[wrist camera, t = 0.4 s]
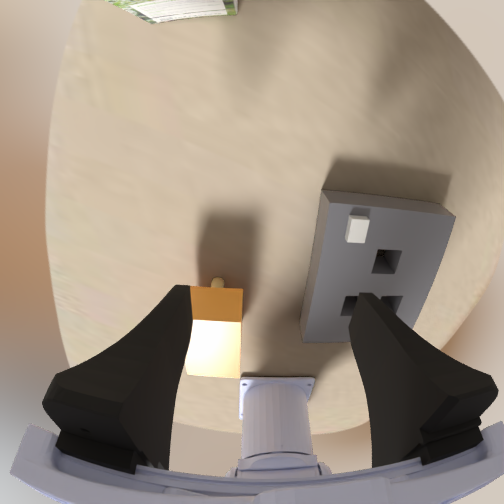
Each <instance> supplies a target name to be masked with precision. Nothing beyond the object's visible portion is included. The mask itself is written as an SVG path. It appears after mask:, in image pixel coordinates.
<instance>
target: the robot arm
mask: <svg viewBox="0 0 504 504" xmlns="http://www.w3.org/2000/svg"><path fill="white" fill-rule="evenodd" d="M192 327H193V315H192V304H191V292H190V286H188V285H175V286H174V287H173V288H172V289H171V290H170V291H169V292H168V294H167V295H166V296H165V297H164V298H163V299H162V300H161V301H160V303H159V304H158V305H157V306H156V307H155V308H154V309H153V310H152V311H151V312H150V313H149V314H148V315H147V316H146V317H145V318H144V319H143V320H142V321H141V322H140V323H139V324H138V325H137V326H136V327H135V328H134V329H132V330H131V331H130V332H129V333H128V334H127V335H125V336H124V337H123V338H121V339H120V340H119V341H118V342H116V343H115V344H113V345H112V346H110V347H109V348H107V349H106V350H104V351H103V352H101V353H99V354H98V355H96V356H94V357H92V358H91V359H89V360H87V361H85V362H83V363H81V364H79V365H77V366H74V367H72V368H70V369H67V370H65V371H63V372H60V373H57V374H56V375H55V377H54V379H53V380H52V382H51V384H50V386H49V388H48V390H47V393H46V395H45V397H44V399H43V401H42V405H43V408H44V410H45V411H46V413H47V414H48V415H49V416H50V418H51V419H52V420H53V421H54V422H55V423H56V425H57V426H58V427H59V428H60V429H61V432H60V434H59V436H57V435H56V434H54V433H53V432H51V431H48V430H46V429H43V428H41V427H39V426H36V425H34V424H32V423H29V424H28V427H27V429H26V431H25V434H24V436H23V439H22V441H21V444H20V446H19V449H18V451H17V454H16V457H15V459H14V462H13V465H12V467H11V470H10V474H11V475H12V476H14V477H15V478H17V479H18V480H20V481H22V482H23V483H25V484H26V485H28V486H29V487H31V488H33V489H34V490H36V491H38V492H39V493H41V494H43V495H45V496H47V497H49V498H51V499H53V500H55V501H57V502H60V503H62V504H450V503H452V502H454V501H457V500H459V499H461V498H463V497H465V496H467V495H469V494H471V493H473V492H475V491H477V490H479V489H481V488H482V487H484V486H486V485H488V484H489V483H491V482H492V481H494V480H495V479H497V478H498V477H500V476H501V475H503V474H504V424H503V422H502V421H500V422H498V423H495V424H493V425H491V426H488V427H486V428H485V429H483V430H482V431H480V429H479V427H478V426H479V425H481V419H480V416H481V414H483V412H484V411H485V410H486V409H487V408H488V407H489V406H490V405H491V404H492V402H494V400H495V399H496V397H497V395H498V388H497V386H496V384H495V382H494V381H493V379H492V377H491V375H488V374H486V373H483V372H481V371H478V370H475V369H473V368H471V367H468V366H467V365H465V364H462V363H460V362H458V361H457V360H455V359H453V358H451V357H450V356H448V355H446V354H445V353H443V352H441V351H440V350H438V349H437V348H435V347H434V346H433V345H431V344H430V343H429V342H427V341H426V340H424V339H423V338H422V337H421V336H419V335H418V334H417V333H416V332H415V331H413V330H412V329H411V328H410V327H409V326H408V325H407V324H405V323H404V322H403V321H402V320H401V319H400V318H399V317H398V316H397V315H396V314H395V313H394V312H393V311H392V310H390V309H389V308H388V307H387V306H386V305H385V304H384V303H383V302H382V301H381V300H380V299H379V298H378V297H377V296H376V295H374V294H373V293H366V292H359V296H358V299H357V302H356V305H355V308H354V311H353V314H352V317H351V320H350V323H349V326H348V329H349V335H350V341H351V346H352V350H353V353H354V356H355V359H356V362H357V366H358V369H359V372H360V375H361V378H362V382H363V385H364V389H365V393H366V398H367V404H368V410H369V418H370V427H371V440H372V468H370V469H364V470H359V471H353V472H346V473H338V474H332V472H331V470H330V468H329V467H328V466H327V465H325V463H324V462H319V463H317V455H313V449H312V440H311V431H310V423H309V414H308V406H307V402H308V400H309V397H310V394H311V391H312V389H313V386H314V383H315V379H314V378H313V377H242V378H240V401H239V419H241V420H242V451H241V459H239V460H238V467H232V468H231V469H230V470H229V471H228V472H227V473H226V475H225V477H218V476H206V475H197V474H189V473H181V472H174V471H169V456H170V441H171V432H172V431H171V430H172V423H173V414H174V407H175V400H176V393H177V389H178V384H179V381H180V377H181V373H182V370H183V366H184V363H185V359H186V355H187V352H188V348H189V345H190V340H191V333H192Z"/></svg>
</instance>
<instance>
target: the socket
mask: <svg viewBox="0 0 504 504" xmlns="http://www.w3.org/2000/svg"><path fill="white" fill-rule="evenodd" d="M455 218H456V216H454V215H453V214H452V213H451V212H449V211H448V210H447V209H446V208H444V207H443V206H442V205H440V204H438V203H432V202H425V201H418V200H411V199H403V198H396V197H388V196H379V195H371V194H362V193H352V192H342V191H331V190H321V196H320V203H319V210H318V217H317V224H316V230H315V237H314V243H313V249H312V255H311V261H310V267H309V273H308V278H307V284H306V289H305V295H304V300H303V305H302V311H301V316H300V321H299V324H300V330H301V337H302V343H332V342H351V341H350V335H349V329H348V326H349V323H350V320H351V317H352V314H353V311H354V308H355V305H356V302H357V299H358V296H359V292H366V293H373V294H374V295H376V296H377V297H378V298H379V299H380V300H381V301H382V302H383V303H384V304H385V305H386V306H387V307H388V308H389V309H390V310H392V311H393V312H394V313H395V314H396V315H397V316H398V317H399V318H400V319H401V320H402V321H403V322H404V323H405V324H407V325H408V326H409V327H410V328H411V329H413V327H414V324H415V322H416V320H417V318H418V316H419V314H420V312H421V309H422V307H423V305H424V303H425V300H426V298H427V296H428V293H429V291H430V289H431V286H432V284H433V281H434V279H435V276H436V274H437V271H438V269H439V266H440V263H441V261H442V258H443V255H444V252H445V249H446V247H447V244H448V241H449V238H450V235H451V231H452V228H453V225H454V222H455ZM378 249H385V253H384V256H383V257H381V256H376V254H377V251H378Z"/></svg>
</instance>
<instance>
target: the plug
mask: <svg viewBox="0 0 504 504" xmlns="http://www.w3.org/2000/svg"><path fill="white" fill-rule="evenodd" d="M190 292H191V304H192V315H193V327H192V333H191V340H190V345H189V348H188V352H187V355H186V359H185V363H186V369H187V374H188V375H199V376H211V377H227V378H240V357H241V333H242V302H243V289H236V288H224V280H223V279H222V278H220V277H216V278H214V279H213V280H212V283H211V287H197V286H190Z"/></svg>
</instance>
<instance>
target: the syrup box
mask: <svg viewBox="0 0 504 504" xmlns="http://www.w3.org/2000/svg"><path fill="white" fill-rule="evenodd" d="M105 1H107V2H109V3H111V4H113V5H115V6H118V7H119V8H122V9H124V10H125V11H127V12H130V13H131V14H133V15H135V16H137V17H139V18H141V19H143V20H145V21H146V22H148V23H150V24H156V23H161V22H167V21H174V20H180V19H188V18H197V17H207V16H223V15H236V14H237V12H238V0H105Z"/></svg>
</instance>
